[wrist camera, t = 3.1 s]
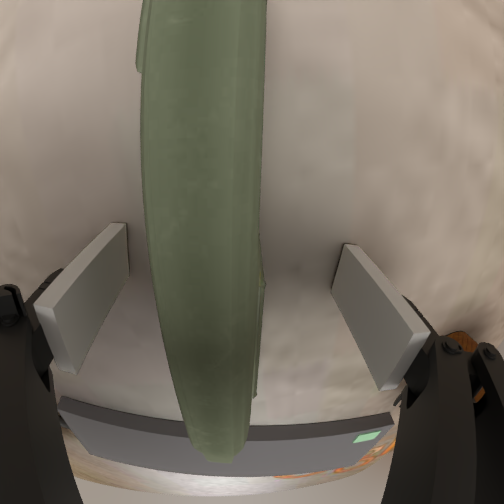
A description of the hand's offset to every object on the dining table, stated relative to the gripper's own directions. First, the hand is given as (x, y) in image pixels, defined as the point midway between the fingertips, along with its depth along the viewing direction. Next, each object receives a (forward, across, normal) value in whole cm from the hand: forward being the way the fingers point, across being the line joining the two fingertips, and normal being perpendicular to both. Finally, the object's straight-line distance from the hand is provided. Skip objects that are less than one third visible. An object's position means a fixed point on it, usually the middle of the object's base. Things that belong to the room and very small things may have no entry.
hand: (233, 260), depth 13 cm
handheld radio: (+1, -1, 0) cm, 1 cm away
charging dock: (0, -3, -20) cm, 20 cm away
